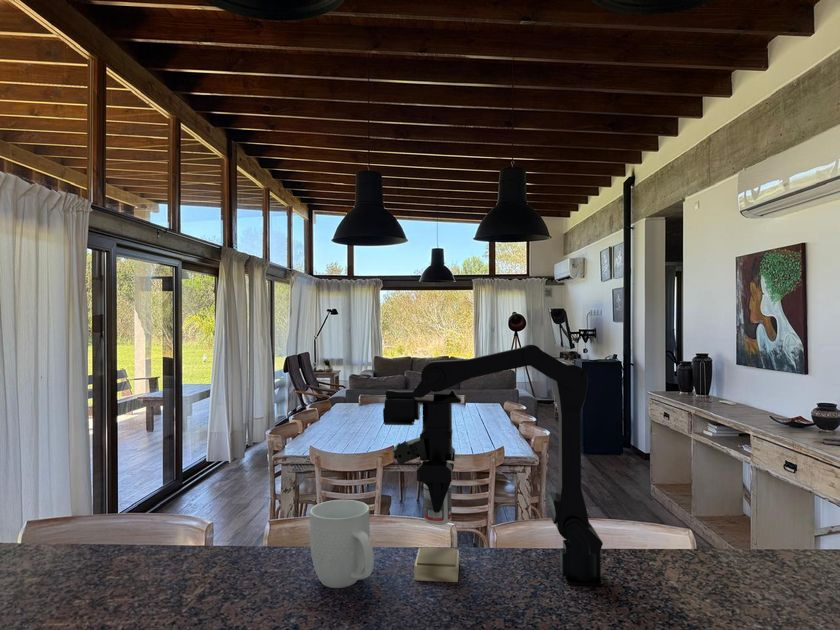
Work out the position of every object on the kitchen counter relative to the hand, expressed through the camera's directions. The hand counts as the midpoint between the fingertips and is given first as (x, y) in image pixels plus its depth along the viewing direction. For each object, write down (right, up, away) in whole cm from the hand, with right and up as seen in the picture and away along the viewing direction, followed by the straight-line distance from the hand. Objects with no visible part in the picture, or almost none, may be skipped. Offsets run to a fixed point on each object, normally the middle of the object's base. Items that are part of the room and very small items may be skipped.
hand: (437, 507), depth 99 cm
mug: (-18, -12, -5) cm, 22 cm away
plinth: (0, -12, -1) cm, 12 cm away
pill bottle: (0, -3, 0) cm, 3 cm away
